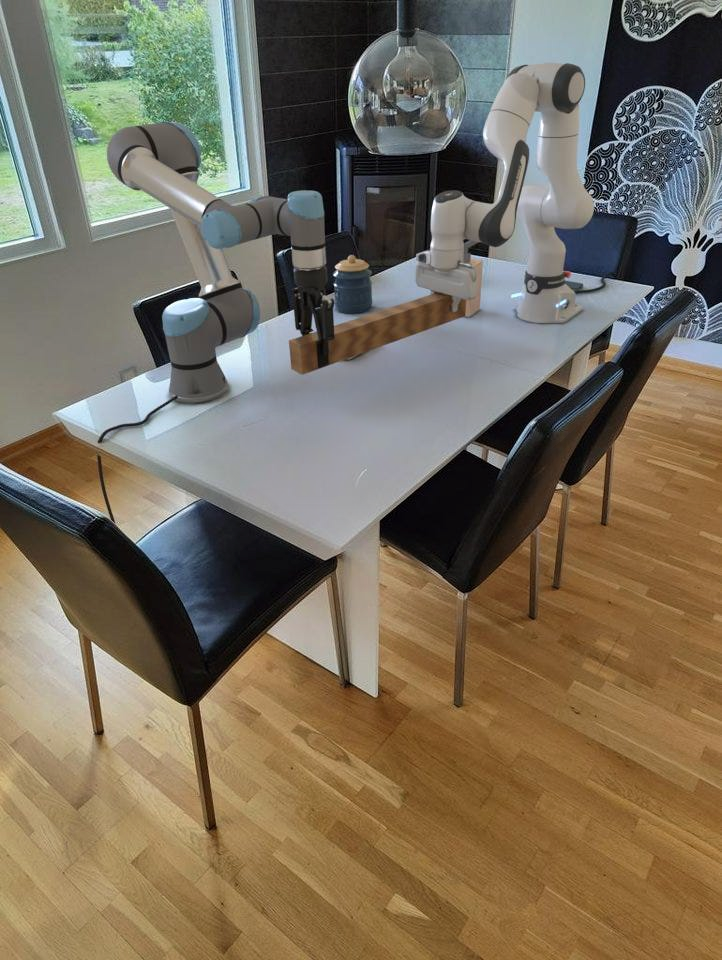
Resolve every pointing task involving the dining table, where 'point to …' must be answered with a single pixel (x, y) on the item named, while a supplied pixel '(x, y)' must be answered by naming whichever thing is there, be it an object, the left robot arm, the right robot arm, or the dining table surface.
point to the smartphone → (574, 285)
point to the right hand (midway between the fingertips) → (445, 308)
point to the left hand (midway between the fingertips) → (316, 362)
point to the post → (375, 330)
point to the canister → (352, 286)
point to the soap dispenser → (474, 304)
